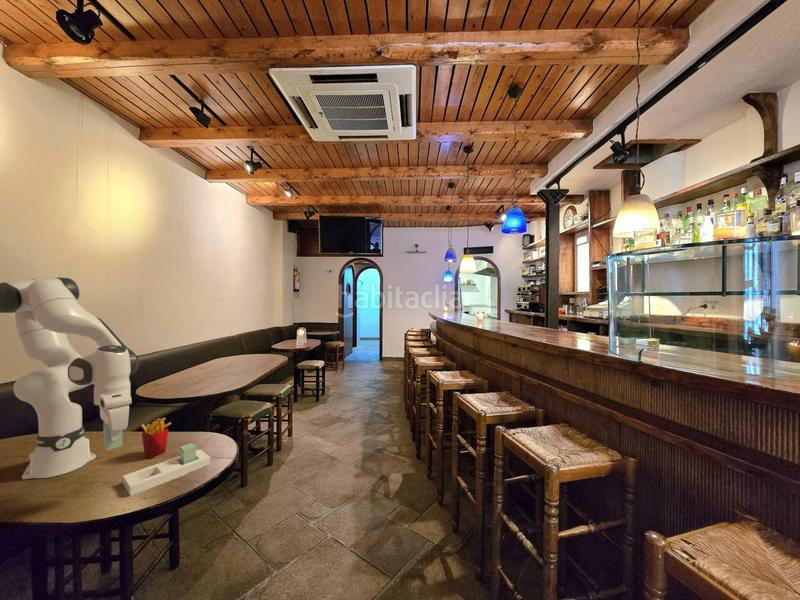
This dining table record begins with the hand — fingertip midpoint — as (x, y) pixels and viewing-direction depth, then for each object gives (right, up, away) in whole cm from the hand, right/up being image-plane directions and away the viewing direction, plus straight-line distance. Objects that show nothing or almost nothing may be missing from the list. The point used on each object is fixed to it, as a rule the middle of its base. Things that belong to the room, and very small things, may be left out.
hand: (112, 437), depth 101 cm
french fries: (-6, -19, +26) cm, 33 cm away
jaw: (0, -3, 0) cm, 3 cm away
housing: (+9, -19, +13) cm, 25 cm away
